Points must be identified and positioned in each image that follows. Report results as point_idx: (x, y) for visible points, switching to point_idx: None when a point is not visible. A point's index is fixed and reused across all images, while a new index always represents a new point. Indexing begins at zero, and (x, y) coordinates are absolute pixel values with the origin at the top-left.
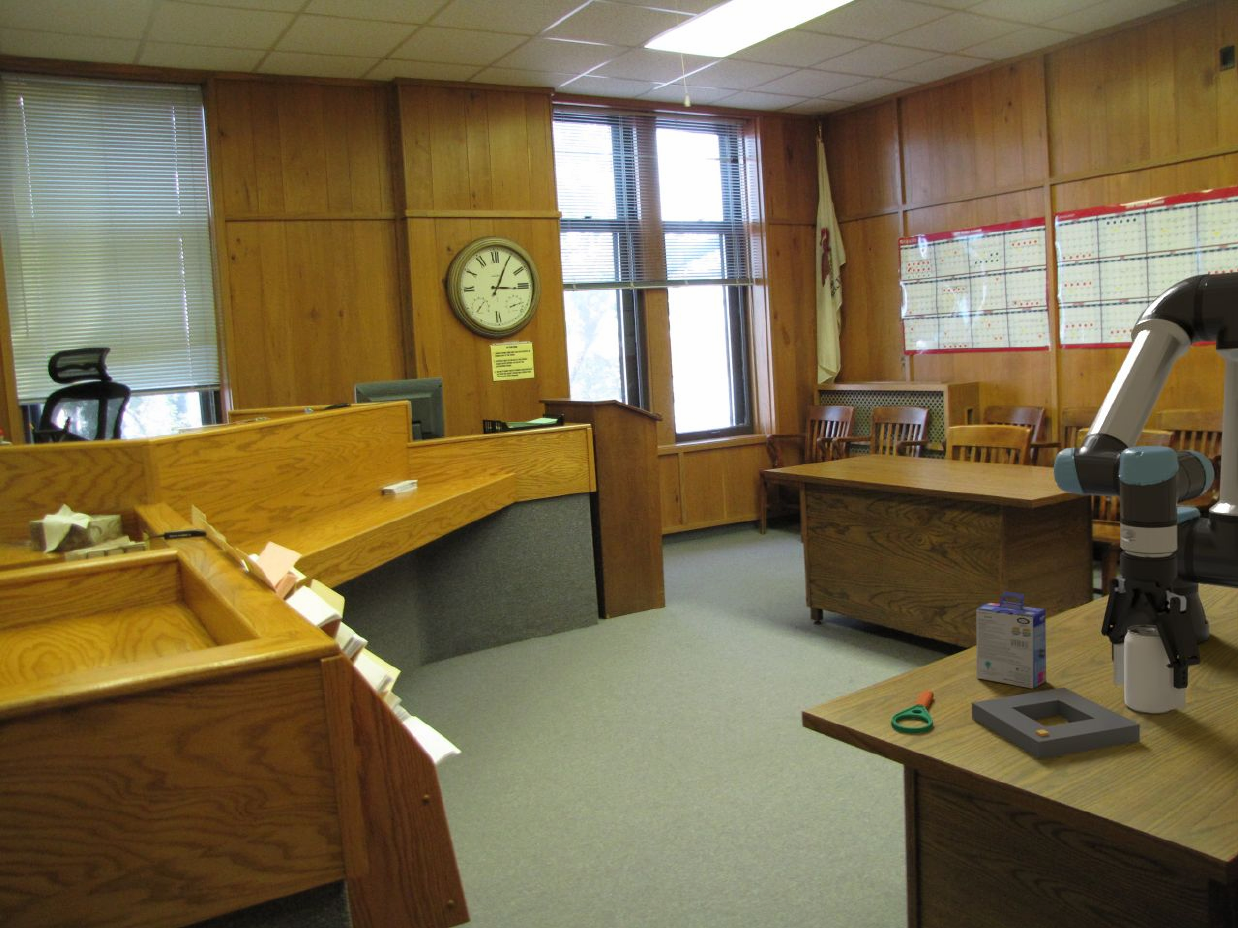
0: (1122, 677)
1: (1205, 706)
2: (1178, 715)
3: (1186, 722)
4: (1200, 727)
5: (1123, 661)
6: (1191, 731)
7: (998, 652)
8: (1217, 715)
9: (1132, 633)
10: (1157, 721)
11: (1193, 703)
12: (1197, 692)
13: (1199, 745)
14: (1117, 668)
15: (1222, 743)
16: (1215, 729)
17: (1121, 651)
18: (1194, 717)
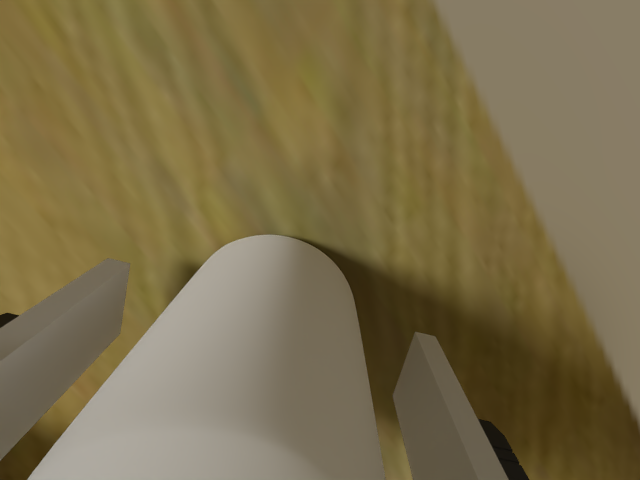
0: (106, 325)
1: (403, 141)
2: (390, 302)
3: (444, 338)
4: (499, 342)
5: (60, 364)
6: (496, 391)
7: None
8: (484, 195)
9: None
10: (376, 398)
11: (353, 147)
12: (284, 2)
13: (567, 462)
14: (76, 377)
15: (611, 404)
16: (543, 321)
17: (16, 418)
18: (437, 277)
